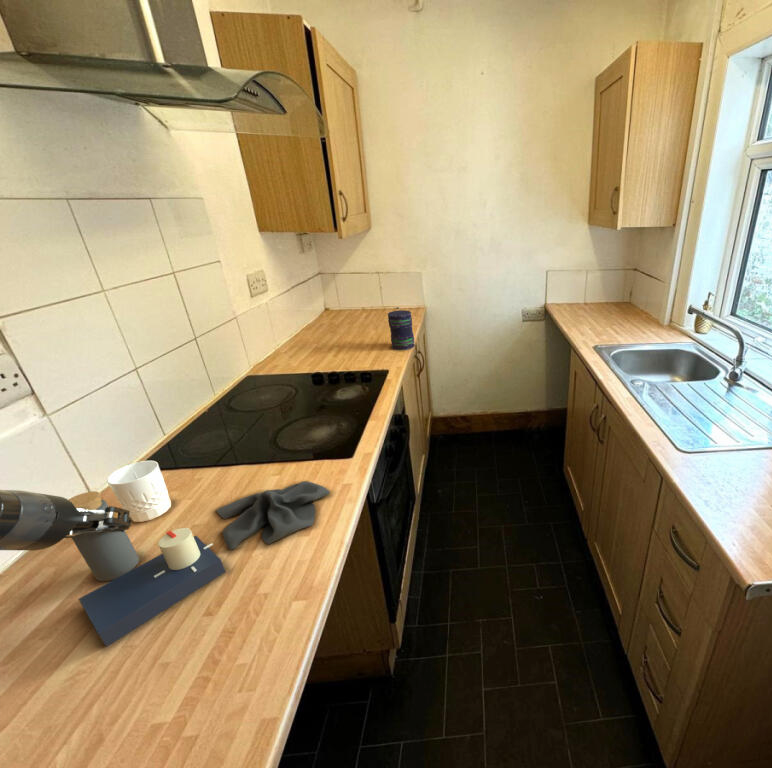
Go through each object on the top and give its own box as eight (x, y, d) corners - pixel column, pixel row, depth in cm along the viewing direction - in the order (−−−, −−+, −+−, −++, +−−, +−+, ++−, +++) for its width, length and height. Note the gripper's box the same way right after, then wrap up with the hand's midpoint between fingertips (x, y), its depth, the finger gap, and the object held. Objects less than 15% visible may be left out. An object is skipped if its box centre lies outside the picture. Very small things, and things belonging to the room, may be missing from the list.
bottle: (137, 549, 77) (103, 484, 71) (141, 567, 73) (105, 500, 67) (95, 568, 73) (55, 500, 67) (96, 588, 69) (54, 518, 63)
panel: (106, 647, 60) (97, 632, 59) (86, 612, 65) (77, 598, 64) (230, 568, 73) (225, 555, 72) (205, 544, 78) (200, 531, 77)
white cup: (173, 514, 86) (156, 474, 82) (124, 530, 82) (103, 489, 78) (175, 494, 92) (159, 456, 88) (129, 508, 88) (110, 468, 84)
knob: (205, 555, 72) (195, 532, 70) (176, 574, 68) (165, 550, 66) (192, 546, 74) (182, 523, 72) (163, 563, 70) (152, 539, 68)
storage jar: (393, 343, 187) (388, 303, 179) (415, 342, 188) (411, 302, 180) (390, 350, 178) (384, 309, 170) (413, 349, 178) (408, 308, 171)
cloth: (335, 479, 96) (329, 457, 93) (315, 538, 79) (309, 513, 77) (229, 492, 92) (221, 469, 90) (185, 557, 75) (174, 531, 73)
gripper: (-58, 562, 53) (50, 560, 69) (79, 537, 57) (152, 541, 72) (-44, 503, 56) (57, 513, 71) (86, 483, 59) (156, 497, 75)
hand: (105, 527), depth 72 cm, fingers closed on bottle, 6 cm apart
